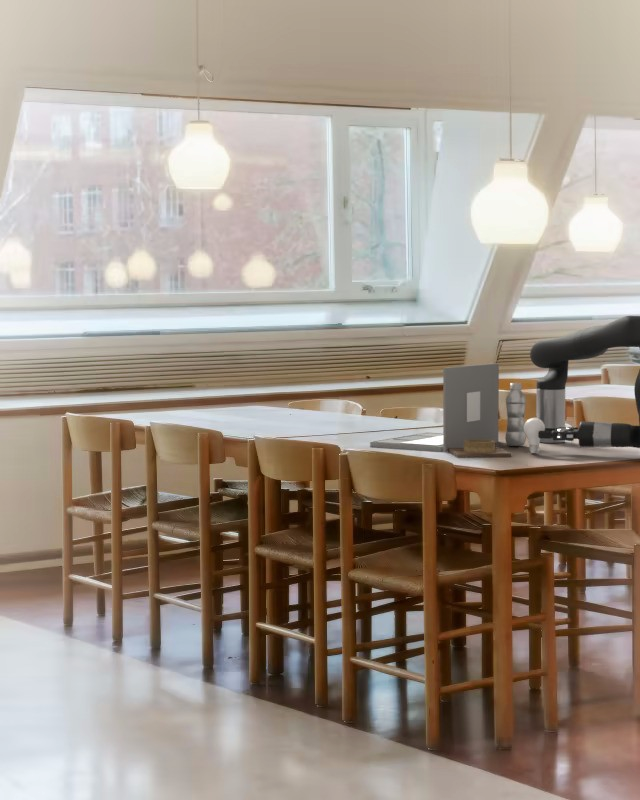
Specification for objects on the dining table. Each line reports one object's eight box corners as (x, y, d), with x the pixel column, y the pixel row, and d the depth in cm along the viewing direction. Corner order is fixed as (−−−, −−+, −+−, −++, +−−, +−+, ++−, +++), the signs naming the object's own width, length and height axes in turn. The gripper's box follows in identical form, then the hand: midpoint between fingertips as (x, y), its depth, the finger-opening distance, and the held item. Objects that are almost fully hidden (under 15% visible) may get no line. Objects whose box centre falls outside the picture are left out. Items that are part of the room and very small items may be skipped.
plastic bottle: (523, 445, 414) (524, 382, 413) (527, 447, 407) (528, 383, 406) (503, 445, 414) (503, 382, 412) (507, 447, 407) (507, 384, 406)
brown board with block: (448, 451, 398) (448, 438, 398) (500, 450, 399) (500, 437, 399) (457, 457, 382) (457, 444, 382) (511, 456, 383) (511, 443, 383)
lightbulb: (530, 456, 385) (531, 419, 384) (519, 453, 391) (519, 417, 390) (549, 455, 387) (549, 418, 387) (537, 452, 393) (537, 416, 392)
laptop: (426, 438, 441) (426, 361, 439) (499, 442, 425) (499, 363, 423) (370, 447, 413) (369, 365, 411) (445, 453, 397) (445, 367, 395)
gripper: (598, 419, 389) (544, 418, 394) (593, 424, 376) (537, 422, 381) (598, 444, 390) (543, 443, 395) (593, 449, 376) (537, 448, 381)
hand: (540, 433), depth 388 cm, fingers open, 8 cm apart
